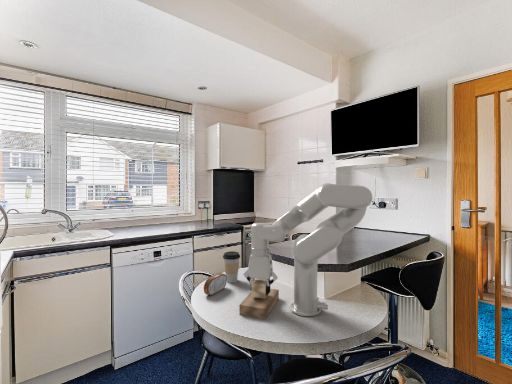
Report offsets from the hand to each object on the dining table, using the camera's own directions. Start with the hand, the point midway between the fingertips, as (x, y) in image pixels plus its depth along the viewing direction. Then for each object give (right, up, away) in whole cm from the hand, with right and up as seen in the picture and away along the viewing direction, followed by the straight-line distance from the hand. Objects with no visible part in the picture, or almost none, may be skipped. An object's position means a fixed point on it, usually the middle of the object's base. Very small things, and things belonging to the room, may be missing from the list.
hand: (260, 292), depth 122 cm
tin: (-21, -5, +15) cm, 27 cm away
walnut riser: (0, -6, 0) cm, 6 cm away
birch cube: (0, -1, 0) cm, 1 cm away
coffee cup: (-15, -4, +30) cm, 34 cm away
